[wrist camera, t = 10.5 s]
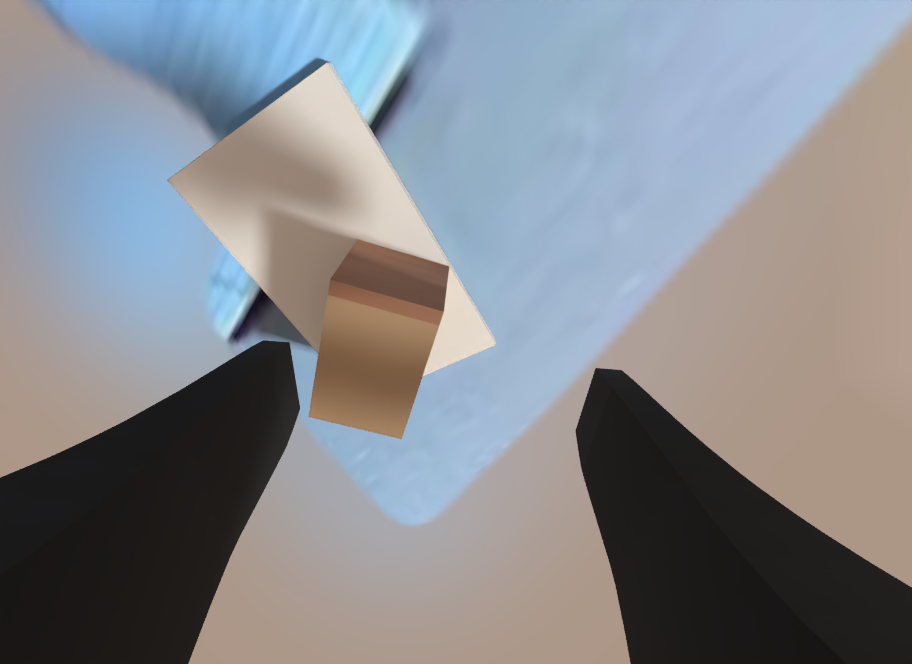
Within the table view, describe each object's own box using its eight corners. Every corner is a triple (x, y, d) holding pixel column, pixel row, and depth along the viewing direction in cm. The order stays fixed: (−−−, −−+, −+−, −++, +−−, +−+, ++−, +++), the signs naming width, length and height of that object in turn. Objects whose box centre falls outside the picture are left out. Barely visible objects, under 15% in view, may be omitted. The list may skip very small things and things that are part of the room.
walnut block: (412, 380, 21) (401, 438, 18) (335, 360, 21) (308, 416, 17) (449, 266, 18) (443, 311, 14) (357, 239, 17) (330, 279, 14)
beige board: (174, 177, 17) (167, 180, 16) (331, 63, 15) (327, 62, 14) (363, 396, 23) (361, 402, 22) (495, 339, 20) (495, 344, 20)
